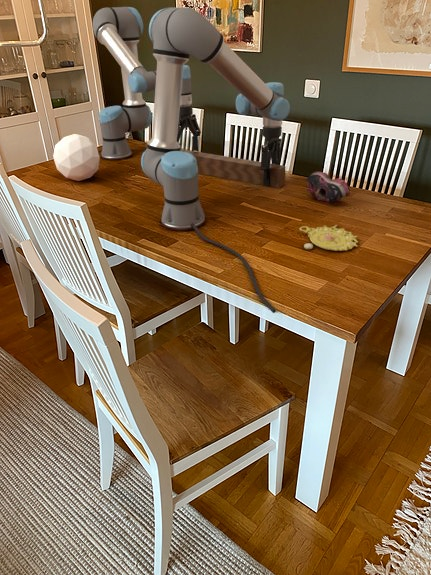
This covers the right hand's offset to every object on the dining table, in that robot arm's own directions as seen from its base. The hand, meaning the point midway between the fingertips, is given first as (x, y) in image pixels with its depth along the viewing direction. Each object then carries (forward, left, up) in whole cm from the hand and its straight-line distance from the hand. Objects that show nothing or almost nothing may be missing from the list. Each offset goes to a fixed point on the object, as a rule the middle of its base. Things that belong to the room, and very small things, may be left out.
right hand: (269, 182), depth 186 cm
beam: (+14, +16, -1) cm, 22 cm away
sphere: (+26, +81, -1) cm, 85 cm away
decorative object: (-54, -5, -1) cm, 55 cm away
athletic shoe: (-20, -15, -1) cm, 25 cm away
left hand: (+29, +32, +6) cm, 43 cm away
